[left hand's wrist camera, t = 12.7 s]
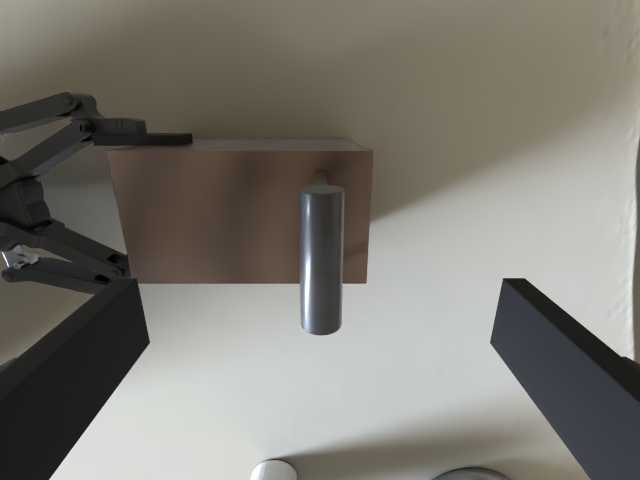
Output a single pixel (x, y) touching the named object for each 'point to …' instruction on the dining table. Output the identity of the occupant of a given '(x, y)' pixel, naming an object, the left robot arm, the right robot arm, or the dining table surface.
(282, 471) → the coffee cup
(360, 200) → the panel with cylinder handle
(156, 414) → the dining table surface
